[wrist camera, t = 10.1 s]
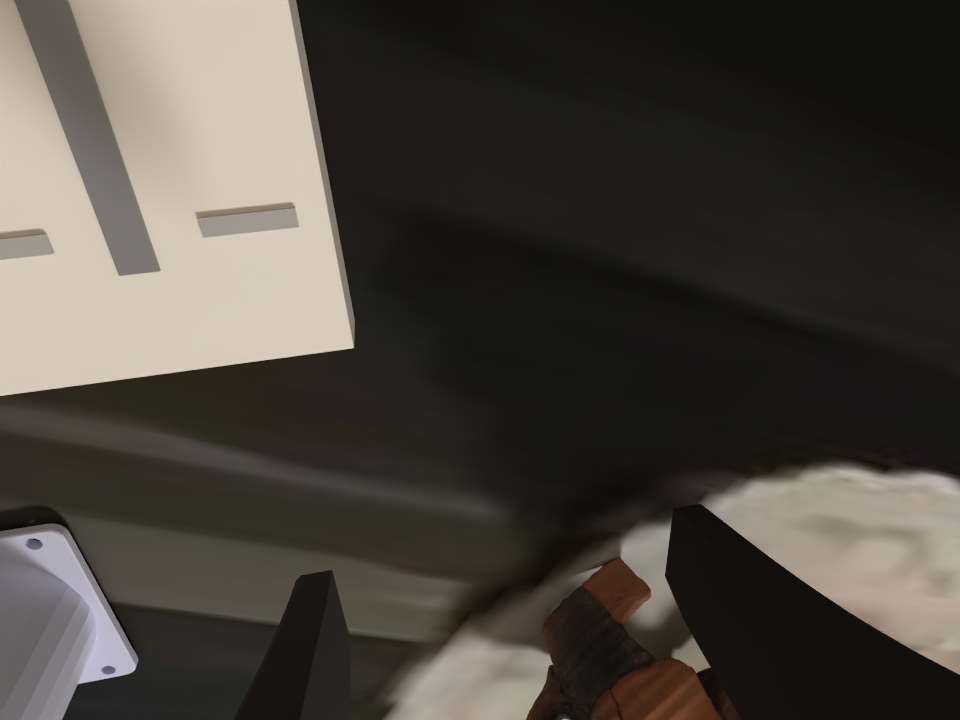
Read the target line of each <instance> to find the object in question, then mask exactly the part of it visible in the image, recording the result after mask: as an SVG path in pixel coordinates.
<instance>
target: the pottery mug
mask: <svg viewBox="0 0 960 720" xmlns="http://www.w3.org/2000/svg"><path fill="white" fill-rule="evenodd" d="M650 597H651V590H650V588H649V587H648V585H647V584H646V583H645V582H644V581H643V580H642V579H641V578H639V577H637V576H636V575H635V574H634V572H633V571H632V570H631V569H630V568H629V567H628V566H627V565H626V564H625V563H624V562H623V560H621V559H620V558H615V559H614V560H612V561H611V562H610V563H607V564H606V565H604V566H603V567H602V568H601V569H599V570H598V571H597V572H595V573H594V574H593V575H592V576H591V577H590V578H589V579H588V580H587V581H585V582H584V583H583V585H582V586H580V587H579V588H577V589H576V590H575V591H574V592H573V593H572V594H571V596H570V597H568V598H566V599H564V600H563V601H562V602H561V604H560V605H559V606H558V607H557V608H556V609H555V610H554V611H553V613H552V614H551V615H550V616H549V618H548V620H547V622H546V624H545V627H544V630H543V633H544V636H545V638H546V641H547V645H548V648H549V652H550V657H551V660H552V663H553V665H550V666H549V668H548V674H547V680H546V683H545V686H544V688H543V690H542V692H541V693H540V695H539V696H538V698H537V699H536V701H535V702H534V704H533V706H532V708H531V709H530V711H529V714H528V716H527V719H526V720H562V719H564V718H566V719H569V720H741V718H740V716H739V715H738V713H737V711H736V709H735V708H734V706H733V704H732V703H731V701H730V699H729V697H728V696H727V694H726V692H725V691H724V689H723V687H722V685H721V684H720V682H719V680H718V679H717V677H716V675H715V673H714V672H713V670H712V668H708V669H705V670H702V671H700V672H698V673H696V672H695V671H694V669H693V668H692V667H689V666H687V665H686V664H685V663H683V662H682V661H680V660H677V659H674V658H664V659H660V660H654V658H653V656H652V655H651V654H650V653H649V652H647V651H646V650H644V649H643V648H642V647H641V646H640V645H639V644H638V643H637V642H636V641H635V640H634V639H632V638H631V637H630V636H629V635H628V633H627V631H626V630H625V628H624V624H625V623H626V622H627V621H628V619H629V617H630V616H631V615H632V614H633V613H634V612H635V611H636V610H637V609H638V608H639V607H640V606H641V605H642V604H643V603H644V602H645V601H647V600H648V599H650Z"/></svg>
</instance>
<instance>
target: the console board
mask: <svg viewBox="0 0 960 720" xmlns="http://www.w3.org/2000/svg"><path fill="white" fill-rule="evenodd" d="M354 324H355V320H354V314H353V309H352V303H351V298H350V292H349V287H348V282H347V276H346V271H345V265H344V260H343V254H342V249H341V243H340V238H339V233H338V227H337V222H336V216H335V211H334V205H333V200H332V194H331V189H330V183H329V178H328V173H327V167H326V162H325V156H324V151H323V145H322V140H321V134H320V129H319V123H318V118H317V113H316V107H315V102H314V96H313V91H312V85H311V80H310V74H309V69H308V64H307V58H306V53H305V47H304V42H303V36H302V31H301V25H300V20H299V14H298V9H297V4H296V0H0V396H3V395H10V394H18V393H25V392H32V391H40V390H47V389H55V388H62V387H69V386H77V385H84V384H92V383H99V382H106V381H114V380H121V379H128V378H136V377H143V376H151V375H158V374H165V373H173V372H180V371H188V370H195V369H202V368H210V367H217V366H225V365H232V364H239V363H247V362H254V361H262V360H269V359H276V358H284V357H291V356H299V355H306V354H313V353H321V352H328V351H336V350H343V349H350V348H354Z"/></svg>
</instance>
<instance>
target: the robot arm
mask: <svg viewBox="0 0 960 720" xmlns="http://www.w3.org/2000/svg"><path fill="white" fill-rule="evenodd" d="M32 538H33V539H32ZM34 539H38V540H40V541H36V540H34ZM665 577H666V579H667V582H668V584H669V586H670V589H671V591H672V594H673V596H674V598H675V601H676V603H677V605H678V608H679V610H680V612H681V614H682V616H683V619H684V621H685V623H686V625H687V626H688V628H689V630H690V632H691V634H692V635H693V637H694V639H695V641H696V642H697V644H698V646H699V648H700V649H701V651H702V653H703V655H704V656H705V658H706V660H707V661H708V663H709V665H710V667H711V668H712V670H713V672H714V673H715V675H716V677H717V679H718V680H719V682H720V684H721V685H722V687H723V689H724V691H725V692H726V694H727V696H728V697H729V699H730V701H731V703H732V704H733V706H734V708H735V709H736V711H737V713H738V715H739V716H740V718H741V720H960V675H959V674H957V673H955V672H953V671H951V670H949V669H947V668H945V667H943V666H941V665H939V664H938V663H936V662H934V661H932V660H930V659H928V658H926V657H924V656H922V655H920V654H919V653H917V652H915V651H913V650H911V649H910V648H908V647H906V646H904V645H903V644H901V643H899V642H898V641H896V640H894V639H892V638H891V637H889V636H887V635H886V634H884V633H882V632H880V631H879V630H877V629H875V628H874V627H872V626H870V625H869V624H867V623H865V622H864V621H862V620H860V619H859V618H857V617H856V616H854V615H852V614H851V613H849V612H848V611H846V610H845V609H843V608H842V607H840V606H839V605H837V604H836V603H834V602H833V601H831V600H830V599H828V598H827V597H825V596H824V595H822V594H821V593H819V592H818V591H816V590H815V589H813V588H812V587H810V586H809V585H807V584H806V583H805V582H803V581H802V580H800V579H799V578H797V577H796V576H795V575H793V574H792V573H791V572H789V571H788V570H786V569H785V568H784V567H782V566H781V565H780V564H778V563H777V562H775V561H774V560H773V559H771V558H770V557H769V556H767V555H766V554H765V553H763V552H762V551H761V550H759V549H758V548H757V547H756V546H754V545H753V544H752V543H750V542H749V541H748V540H746V539H745V538H744V537H742V536H741V535H740V534H739V533H737V532H736V531H735V530H733V529H732V528H731V527H730V526H728V525H727V524H726V523H724V522H723V521H722V520H721V519H719V518H718V517H717V516H715V515H714V514H713V513H712V512H710V511H709V510H708V509H706V508H705V507H704V506H702V505H701V504H697V505H691V506H686V507H680V508H675V509H673V516H672V524H671V532H670V540H669V548H668V556H667V564H666V572H665ZM137 663H138V657H137V655H136V653H135V652H134V650H133V648H132V646H131V644H130V642H129V641H128V639H127V637H126V635H125V633H124V631H123V630H122V628H121V626H120V624H119V622H118V620H117V619H116V617H115V615H114V613H113V611H112V609H111V608H110V606H109V604H108V602H107V600H106V598H105V597H104V595H103V593H102V591H101V589H100V587H99V586H98V584H97V582H96V580H95V578H94V576H93V575H92V573H91V571H90V569H89V567H88V565H87V564H86V562H85V560H84V558H83V556H82V554H81V553H80V551H79V549H78V547H77V545H76V543H75V542H74V540H73V538H72V536H71V534H70V532H69V531H68V530H67V529H66V528H65V527H63V526H62V525H59V524H43V525H37V526H31V527H24V528H18V529H12V530H6V531H0V720H62V718H63V716H64V714H65V711H66V709H67V707H68V705H69V702H70V700H71V698H72V695H73V693H74V691H75V689H76V686H77V684H80V683H85V682H90V681H95V680H101V679H106V678H111V677H116V676H121V675H126V674H129V673H131V672H133V671H134V670H135V668H136V665H137ZM350 697H351V668H350V637H349V633H348V629H347V625H346V622H345V618H344V614H343V610H342V606H341V603H340V599H339V595H338V591H337V587H336V584H335V580H334V576H333V572H332V570H329V571H324V572H318V573H312V574H307V575H301V576H300V577H299V578H298V579H297V580H296V583H295V586H294V588H293V591H292V594H291V597H290V599H289V602H288V604H287V607H286V610H285V612H284V614H283V617H282V619H281V622H280V624H279V626H278V629H277V631H276V633H275V636H274V638H273V640H272V642H271V645H270V647H269V649H268V651H267V653H266V655H265V657H264V660H263V662H262V664H261V666H260V668H259V670H258V672H257V674H256V676H255V679H254V681H253V683H252V685H251V687H250V689H249V691H248V693H247V694H246V696H245V698H244V700H243V702H242V704H241V706H240V708H239V709H238V711H237V713H236V715H235V717H234V719H233V720H349V711H350Z"/></svg>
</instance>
